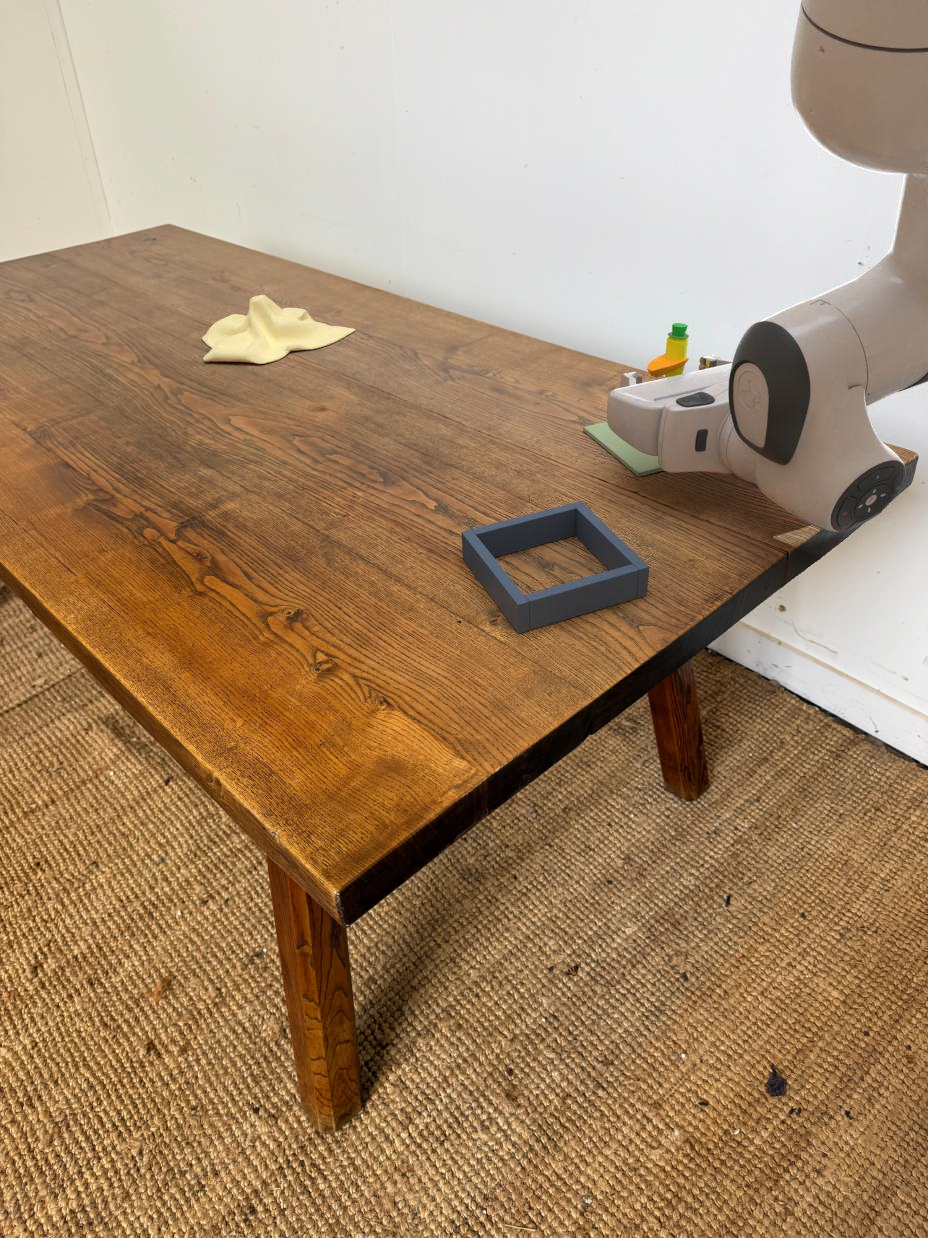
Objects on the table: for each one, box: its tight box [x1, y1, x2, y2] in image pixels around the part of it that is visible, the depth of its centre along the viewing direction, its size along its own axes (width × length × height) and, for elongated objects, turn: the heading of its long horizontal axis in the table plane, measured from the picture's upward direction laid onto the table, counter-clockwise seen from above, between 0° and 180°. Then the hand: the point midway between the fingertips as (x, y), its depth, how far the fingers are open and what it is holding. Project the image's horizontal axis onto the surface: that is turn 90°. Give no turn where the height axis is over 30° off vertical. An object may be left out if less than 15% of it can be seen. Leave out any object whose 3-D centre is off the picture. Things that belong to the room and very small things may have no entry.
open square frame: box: [460, 500, 650, 635], centre depth 76 cm, size 12×12×3 cm
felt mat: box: [582, 421, 664, 477], centre depth 96 cm, size 12×12×1 cm
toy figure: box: [646, 322, 690, 379], centre depth 93 cm, size 7×4×12 cm, turn 131°
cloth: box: [201, 294, 356, 365], centre depth 126 cm, size 22×19×6 cm
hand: (666, 370), depth 91 cm, fingers open, 8 cm apart
